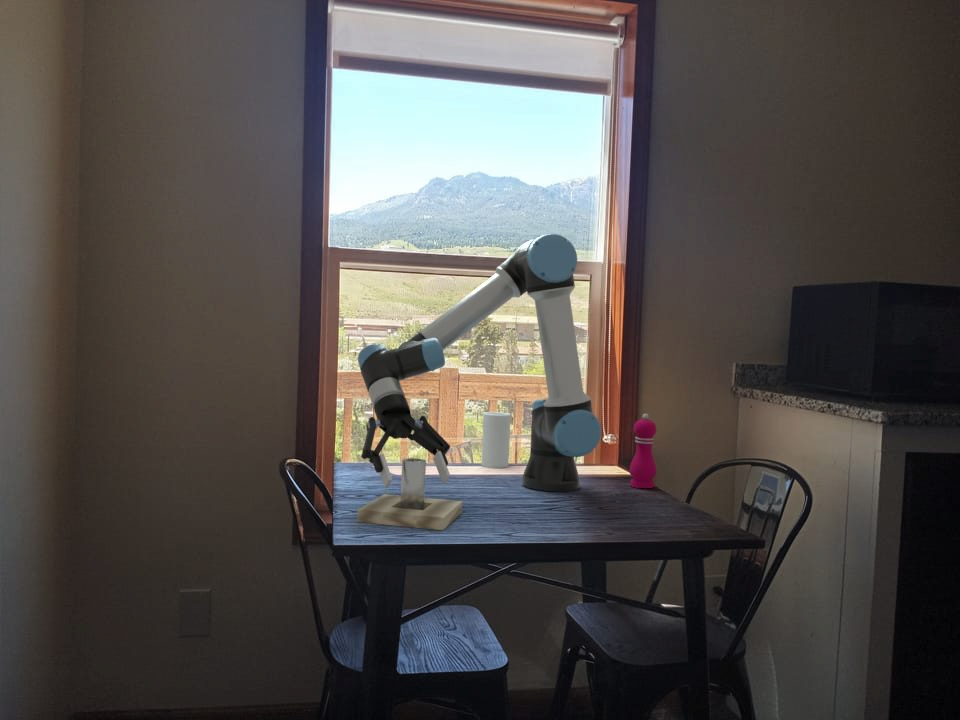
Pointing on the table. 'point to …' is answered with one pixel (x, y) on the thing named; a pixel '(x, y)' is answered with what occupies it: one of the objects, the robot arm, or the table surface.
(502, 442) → the cup
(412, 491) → the tall grey pillar
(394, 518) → the frame
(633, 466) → the pepper mill
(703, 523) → the table surface
